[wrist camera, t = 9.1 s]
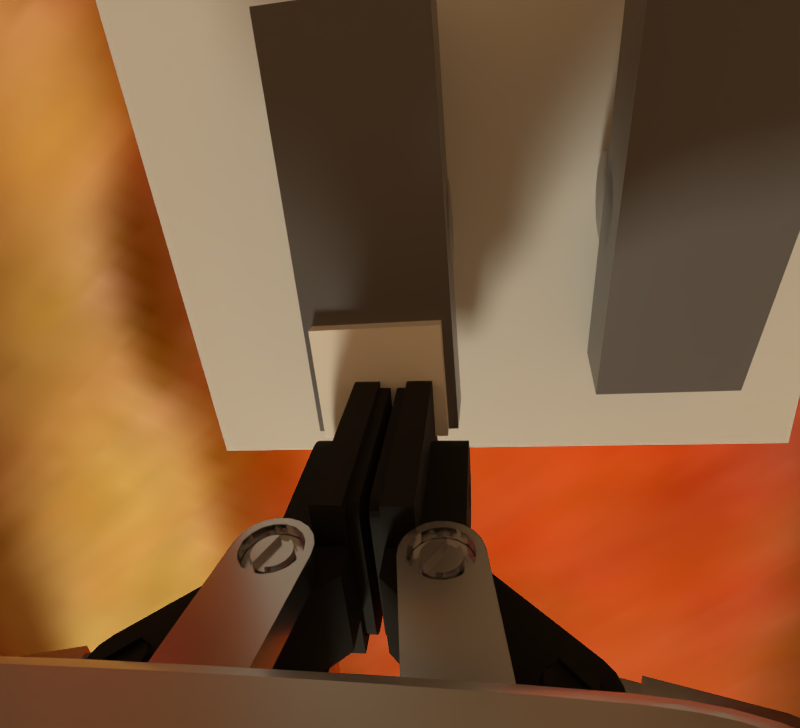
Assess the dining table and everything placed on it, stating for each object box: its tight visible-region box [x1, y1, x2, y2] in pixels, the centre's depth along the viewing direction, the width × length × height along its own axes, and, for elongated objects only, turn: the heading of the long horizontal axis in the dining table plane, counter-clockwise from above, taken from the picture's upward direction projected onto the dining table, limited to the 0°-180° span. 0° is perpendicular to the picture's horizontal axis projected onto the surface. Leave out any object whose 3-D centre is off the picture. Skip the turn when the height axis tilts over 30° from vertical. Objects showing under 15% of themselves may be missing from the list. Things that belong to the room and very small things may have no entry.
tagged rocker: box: [249, 0, 461, 438], centre depth 12 cm, size 8×3×3 cm, turn 6°
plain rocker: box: [587, 0, 800, 395], centre depth 11 cm, size 8×3×2 cm, turn 6°
